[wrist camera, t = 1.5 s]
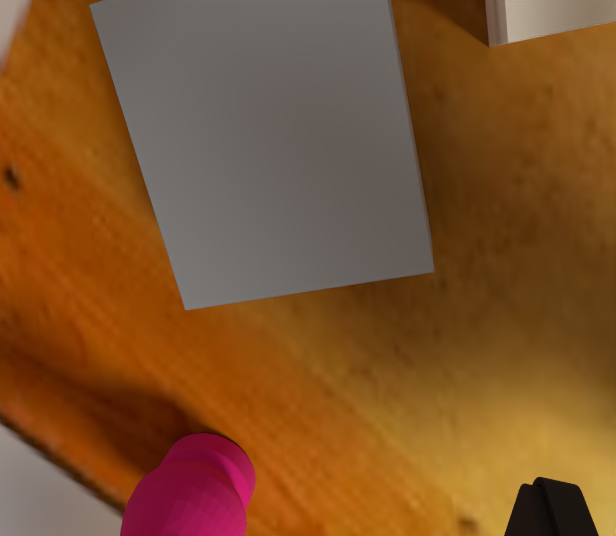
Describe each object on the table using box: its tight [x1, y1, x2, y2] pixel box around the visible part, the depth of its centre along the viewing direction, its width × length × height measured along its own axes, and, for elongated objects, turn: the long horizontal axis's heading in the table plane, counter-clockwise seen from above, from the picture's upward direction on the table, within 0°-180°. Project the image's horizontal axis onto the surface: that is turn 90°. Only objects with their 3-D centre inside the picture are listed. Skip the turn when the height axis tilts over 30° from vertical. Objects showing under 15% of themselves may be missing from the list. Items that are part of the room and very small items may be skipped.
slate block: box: [89, 0, 434, 310], centre depth 27 cm, size 12×14×6 cm
